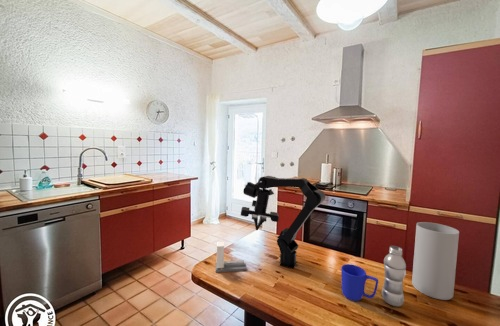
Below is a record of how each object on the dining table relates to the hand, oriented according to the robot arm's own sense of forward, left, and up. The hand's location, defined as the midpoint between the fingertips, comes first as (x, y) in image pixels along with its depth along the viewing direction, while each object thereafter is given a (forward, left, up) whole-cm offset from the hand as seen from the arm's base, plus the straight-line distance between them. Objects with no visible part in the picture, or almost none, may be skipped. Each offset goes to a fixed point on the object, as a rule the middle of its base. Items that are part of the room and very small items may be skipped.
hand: (256, 229), depth 113 cm
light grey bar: (+4, +18, -12) cm, 22 cm away
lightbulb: (-60, +2, -12) cm, 61 cm away
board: (+4, +18, -12) cm, 22 cm away
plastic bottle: (-58, +11, -12) cm, 60 cm away
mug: (-47, +14, -12) cm, 50 cm away
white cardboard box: (+8, +21, -11) cm, 25 cm away
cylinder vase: (-73, -5, -12) cm, 74 cm away
